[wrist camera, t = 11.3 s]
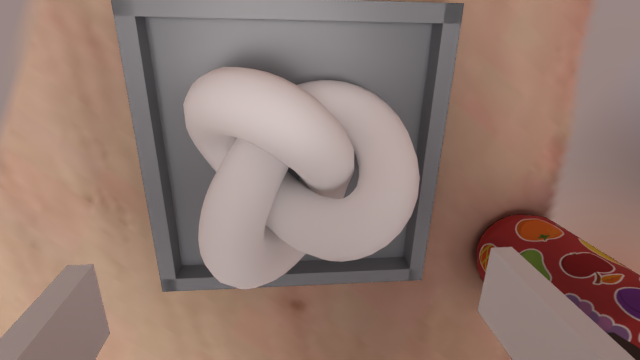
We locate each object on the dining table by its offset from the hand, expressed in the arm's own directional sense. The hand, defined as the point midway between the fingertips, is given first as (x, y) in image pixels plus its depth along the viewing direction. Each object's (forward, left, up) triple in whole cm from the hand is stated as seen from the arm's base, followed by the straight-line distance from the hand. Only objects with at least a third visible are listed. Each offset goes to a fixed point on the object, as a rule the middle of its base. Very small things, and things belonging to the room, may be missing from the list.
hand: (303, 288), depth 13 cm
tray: (0, 0, -13) cm, 13 cm away
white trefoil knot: (0, 0, -13) cm, 13 cm away
